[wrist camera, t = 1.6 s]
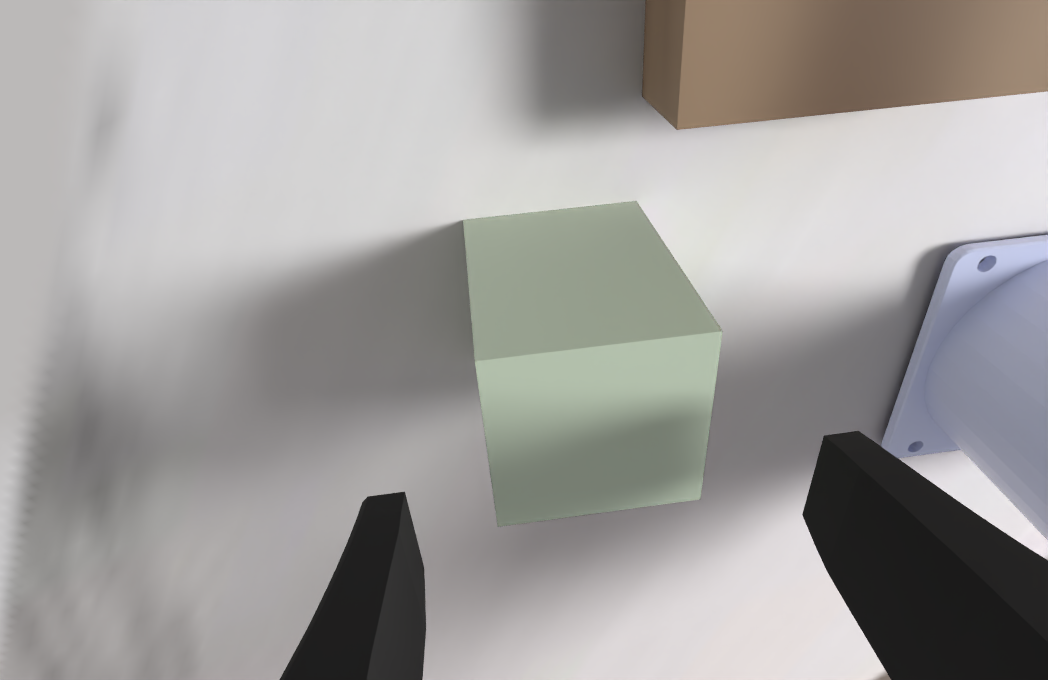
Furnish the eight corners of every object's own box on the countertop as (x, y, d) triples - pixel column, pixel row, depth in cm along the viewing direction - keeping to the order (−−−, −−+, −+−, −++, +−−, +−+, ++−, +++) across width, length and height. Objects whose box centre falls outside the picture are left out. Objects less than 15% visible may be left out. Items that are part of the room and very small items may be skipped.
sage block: (636, 200, 16) (722, 330, 11) (631, 342, 19) (700, 499, 14) (463, 219, 16) (474, 361, 11) (481, 360, 19) (497, 527, 14)
